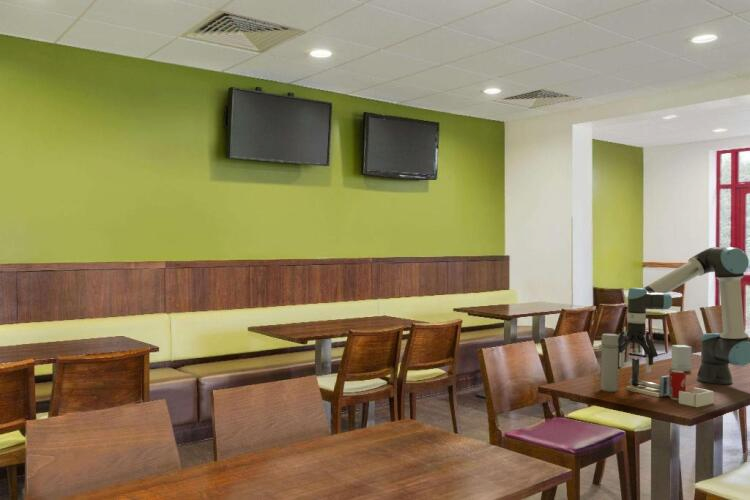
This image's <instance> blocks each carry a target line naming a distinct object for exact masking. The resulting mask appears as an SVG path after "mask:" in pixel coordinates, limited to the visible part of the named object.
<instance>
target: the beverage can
mask: <svg viewBox="0 0 750 500" xmlns="http://www.w3.org/2000/svg"><path fill="white" fill-rule="evenodd" d="M668 375H669V395H668V397H669V398H670V399H671V400H673V401H679V391H684V392H687V390H686V389H687V387H686V385H687V384H686V383H687V375H686V373H685V371H682V370H674V369H671V371H670V372H669V374H668Z"/></svg>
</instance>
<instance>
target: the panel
mask: <svg viewBox="0 0 750 500" xmlns="http://www.w3.org/2000/svg"><path fill="white" fill-rule="evenodd" d="M625 391H629V392H633V393H637V392H638V393H639V394H641V395H642V394H643V395H647V396H651V397H656V398H662V397H663V396H660V390H659V389H654V388H649V387H645V386H640V385H639V386H632V385H628V386H625ZM666 396H668V395H666Z"/></svg>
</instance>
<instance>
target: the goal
mask: <svg viewBox="0 0 750 500" xmlns="http://www.w3.org/2000/svg"><path fill="white" fill-rule="evenodd" d="M714 395H715V394H714V391H713V390H709V389H704V388H698V387H693V392H688V391H686V392H684V391H679V400H678V404H682V405H685V406H689V407H695V408H700V407H704V406H708V405H712V404H714V403H715V402H714Z"/></svg>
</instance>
